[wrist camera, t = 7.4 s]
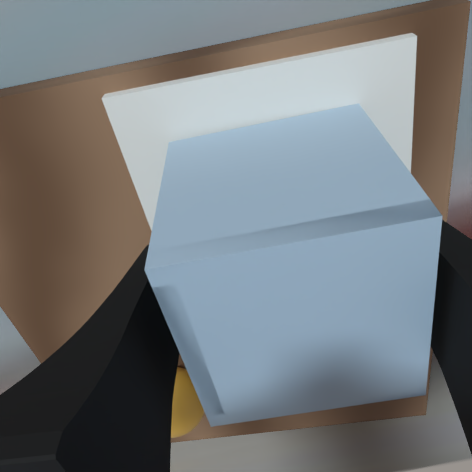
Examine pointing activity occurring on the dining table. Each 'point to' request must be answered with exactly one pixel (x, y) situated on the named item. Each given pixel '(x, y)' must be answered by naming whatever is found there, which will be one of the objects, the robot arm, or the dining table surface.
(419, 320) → the light blue cube
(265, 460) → the dining table surface
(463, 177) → the dining table surface
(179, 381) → the marble
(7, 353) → the dining table surface
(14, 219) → the board
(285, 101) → the pad
